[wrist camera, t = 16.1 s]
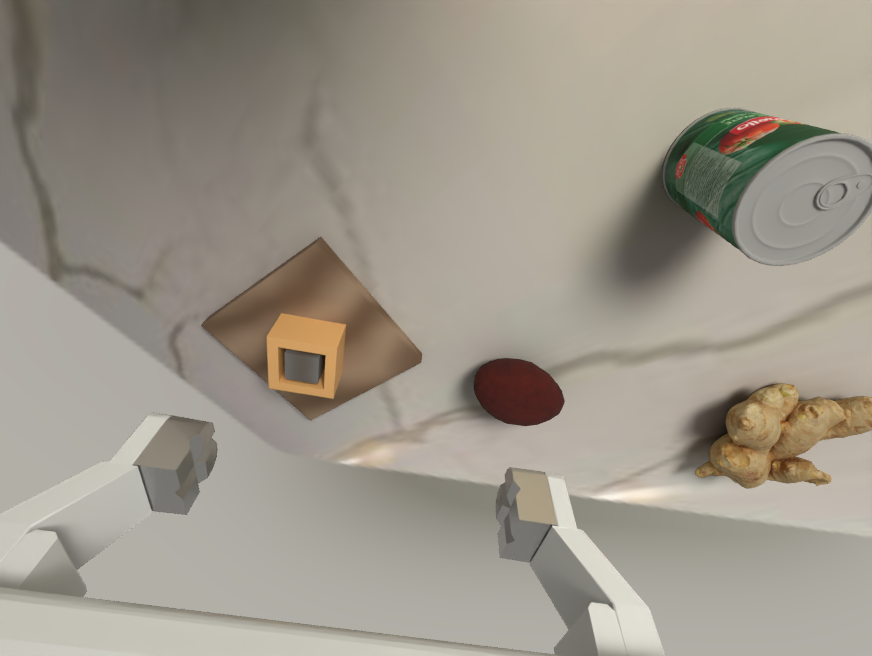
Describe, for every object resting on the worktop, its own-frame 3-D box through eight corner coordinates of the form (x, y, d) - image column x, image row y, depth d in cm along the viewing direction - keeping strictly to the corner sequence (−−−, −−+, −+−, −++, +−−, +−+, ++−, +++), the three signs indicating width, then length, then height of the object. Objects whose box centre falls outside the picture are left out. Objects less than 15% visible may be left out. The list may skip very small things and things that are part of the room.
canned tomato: (670, 224, 38) (739, 284, 28) (653, 136, 34) (727, 172, 25) (771, 186, 35) (880, 237, 26) (766, 87, 32) (892, 107, 22)
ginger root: (654, 458, 52) (698, 509, 45) (728, 339, 47) (792, 375, 39) (760, 486, 55) (818, 538, 48) (840, 378, 50) (920, 417, 43)
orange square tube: (282, 363, 46) (268, 388, 43) (281, 313, 42) (266, 336, 39) (342, 373, 46) (333, 398, 43) (346, 324, 43) (336, 348, 40)
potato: (488, 334, 45) (492, 372, 40) (572, 365, 47) (587, 405, 42) (460, 383, 49) (460, 423, 44) (539, 409, 51) (548, 451, 45)
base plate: (208, 317, 45) (180, 348, 40) (320, 236, 39) (302, 262, 35) (314, 411, 52) (300, 447, 47) (422, 353, 46) (418, 388, 42)
